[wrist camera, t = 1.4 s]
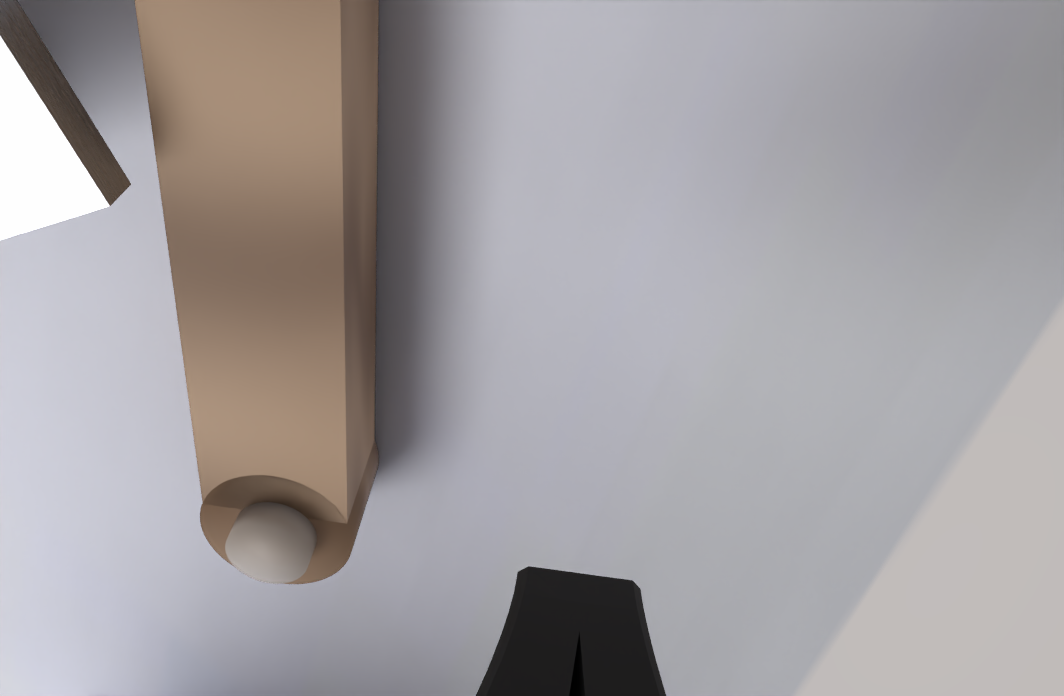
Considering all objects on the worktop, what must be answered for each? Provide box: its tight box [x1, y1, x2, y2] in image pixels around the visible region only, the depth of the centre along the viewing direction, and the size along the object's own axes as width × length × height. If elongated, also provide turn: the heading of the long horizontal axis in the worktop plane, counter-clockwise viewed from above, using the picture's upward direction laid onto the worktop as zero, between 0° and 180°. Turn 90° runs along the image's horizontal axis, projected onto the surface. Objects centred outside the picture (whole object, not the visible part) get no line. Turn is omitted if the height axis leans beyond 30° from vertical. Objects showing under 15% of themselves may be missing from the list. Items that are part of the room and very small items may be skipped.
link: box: [135, 0, 379, 584], centre depth 17 cm, size 12×3×3 cm, turn 174°
